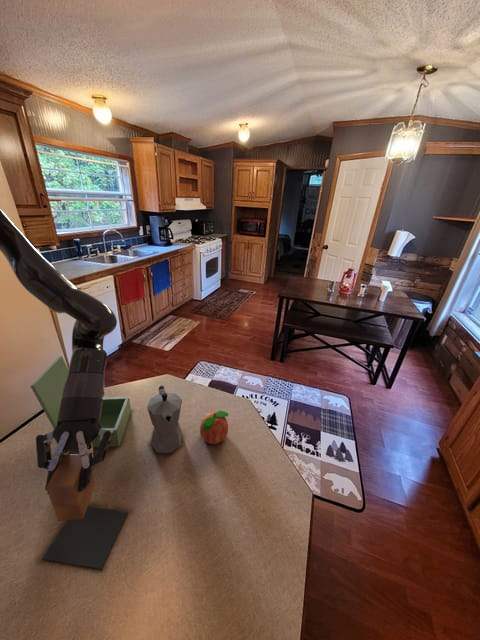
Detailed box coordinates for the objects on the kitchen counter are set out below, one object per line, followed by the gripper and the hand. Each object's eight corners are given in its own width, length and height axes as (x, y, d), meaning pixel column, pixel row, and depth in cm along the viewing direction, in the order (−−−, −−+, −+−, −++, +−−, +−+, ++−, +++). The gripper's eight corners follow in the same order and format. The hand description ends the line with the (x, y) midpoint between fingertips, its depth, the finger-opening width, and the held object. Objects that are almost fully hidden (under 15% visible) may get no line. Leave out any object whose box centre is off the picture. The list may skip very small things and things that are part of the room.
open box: (131, 413, 85) (129, 396, 83) (119, 448, 73) (116, 430, 70) (83, 415, 83) (80, 398, 80) (63, 451, 70) (57, 433, 68)
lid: (61, 355, 74) (59, 356, 74) (33, 385, 61) (30, 386, 61) (81, 397, 80) (78, 397, 80) (59, 432, 68) (56, 432, 68)
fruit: (193, 435, 79) (193, 410, 75) (218, 422, 84) (220, 398, 80) (208, 455, 73) (209, 429, 69) (234, 440, 78) (236, 415, 74)
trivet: (43, 561, 49) (41, 559, 49) (78, 506, 58) (77, 504, 58) (102, 572, 48) (101, 569, 48) (128, 514, 57) (128, 512, 57)
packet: (95, 486, 55) (87, 453, 51) (83, 518, 49) (73, 484, 45) (73, 488, 54) (63, 455, 50) (58, 521, 48) (45, 487, 44)
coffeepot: (187, 456, 72) (187, 406, 65) (153, 466, 68) (148, 415, 61) (177, 417, 85) (176, 373, 78) (147, 425, 81) (143, 378, 74)
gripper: (34, 396, 49) (10, 502, 42) (113, 393, 51) (101, 493, 45) (55, 399, 56) (36, 490, 49) (123, 396, 58) (114, 483, 52)
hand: (67, 491), depth 47 cm, fingers closed on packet, 4 cm apart
